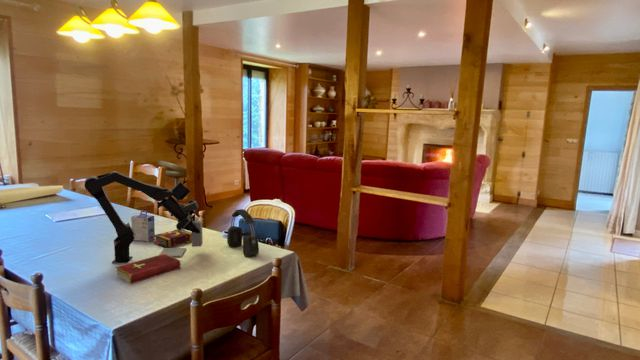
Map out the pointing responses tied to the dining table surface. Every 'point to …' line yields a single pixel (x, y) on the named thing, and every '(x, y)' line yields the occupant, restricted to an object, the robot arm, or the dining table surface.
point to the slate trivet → (173, 251)
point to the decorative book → (173, 238)
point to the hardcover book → (148, 268)
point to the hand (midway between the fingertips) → (200, 231)
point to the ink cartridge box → (143, 227)
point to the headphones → (249, 240)
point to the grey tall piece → (195, 236)
